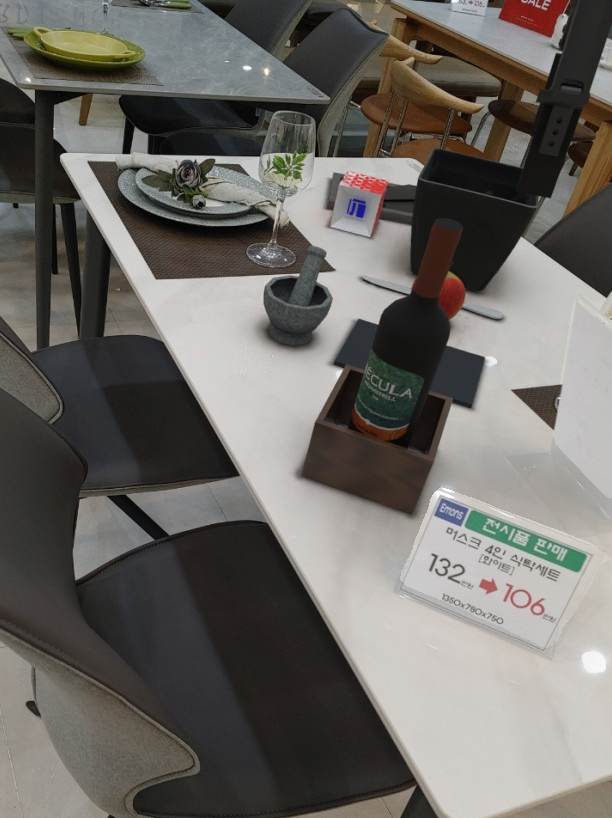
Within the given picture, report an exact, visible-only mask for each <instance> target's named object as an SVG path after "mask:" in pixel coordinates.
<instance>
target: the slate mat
mask: <svg viewBox="0 0 612 818" xmlns="http://www.w3.org/2000/svg"><path fill="white" fill-rule="evenodd" d="M378 324H379V323H374V322H371V321H368V320H365V319H362V318H357V321H356V322H355V324H354V326H353V327H352V329H351V331H350V333H349V335H348V336H347V337H346V340H345V342H344V344H343V345H342V347H341V349H340V350H339V352H338V354H337V355H336V358H335V359H334V362H333V365H335V366H338V367H342V368H344V367H345V365H346V364H347V365H350V366H353V367H356V368H359V369H363V370H365V368H366V364H367V361H368V357H369V354H370V351H371V347H372V344H373V341H374V337H375V334H376V331H377V327H378ZM485 360H486V357H485V356H482V355H479V354H476V353H473V352H469V351H467V350H462V349H460V348H456V347H453V346H449V345H448V344H447V345H446V348H445V350H444V353H443V356H442V358H441V361H440V364H439V367H438V369H437V372H436V375H435V377H434V380H433V383H432V385H431V388H430V391H432V392H435V393H438V394H441V395H444V396H447V397H451V398H453V401H452V403H454V404H457V405H461V406H464V407H467V408H469V409H471V408H472V406H473V403H474V401H475V396H476V394H477V393H476V392H477V389H478V386H479V382H480V378H481V375H482V371H483V367H484V363H485Z"/></svg>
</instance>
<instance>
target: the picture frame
mask: <svg viewBox="0 0 612 818" xmlns="http://www.w3.org/2000/svg"><path fill="white" fill-rule="evenodd" d="M345 175H346V173H339V172H332V178H331V183H330V190H329V195H328V200H327V201H328V202H327V210H332V211H333V210H334V206H335V200H336V196H337V191H338V187H339V184H340V183H341V181H342V179H343V178H344V176H345ZM416 186H417V185H414V184H409V183H408V184H397V183H393V182H388V185H387V189H386V193H385V196H384V200H383V204H382V208H381V211H380V215H379V219H378V220H385V221H390V222H396V223H400V224H405V225H410V226H412V215H413V207H414V199H415V193H416Z"/></svg>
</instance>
